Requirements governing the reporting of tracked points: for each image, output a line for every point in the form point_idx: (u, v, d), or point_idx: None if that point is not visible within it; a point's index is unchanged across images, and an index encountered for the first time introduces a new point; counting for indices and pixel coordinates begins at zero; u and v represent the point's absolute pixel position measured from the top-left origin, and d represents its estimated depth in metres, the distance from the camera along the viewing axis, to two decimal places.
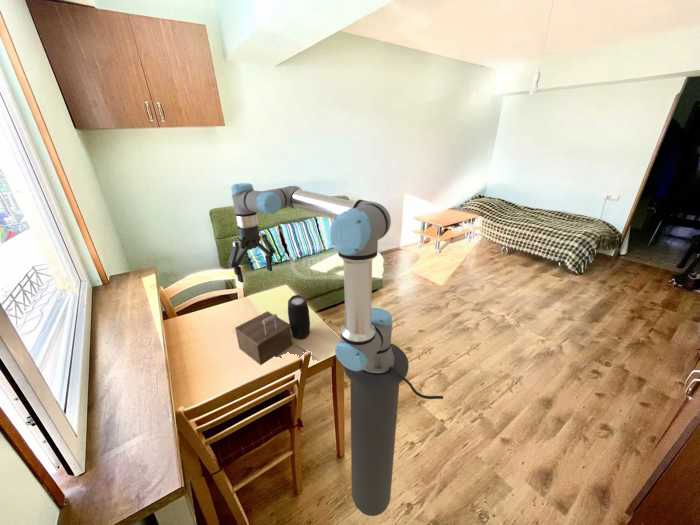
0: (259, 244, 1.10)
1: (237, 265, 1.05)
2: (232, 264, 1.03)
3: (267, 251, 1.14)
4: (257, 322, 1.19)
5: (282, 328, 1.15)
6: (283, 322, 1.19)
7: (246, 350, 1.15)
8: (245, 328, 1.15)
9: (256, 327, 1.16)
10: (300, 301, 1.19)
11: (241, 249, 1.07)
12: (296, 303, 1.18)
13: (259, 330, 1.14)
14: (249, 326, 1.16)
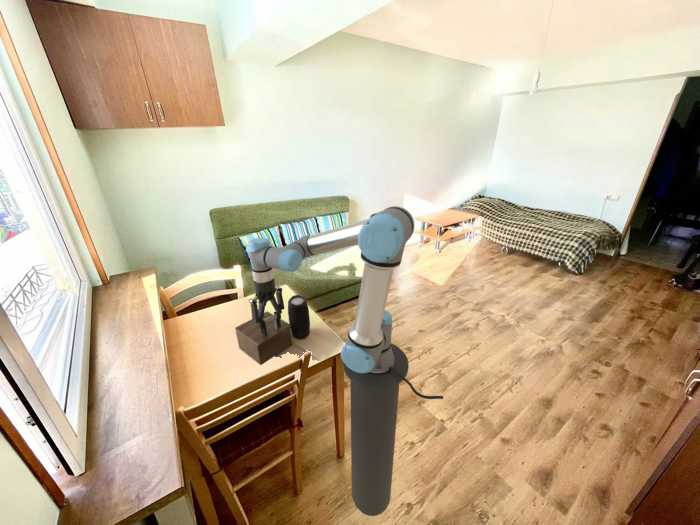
0: (273, 298, 1.07)
1: (261, 320, 1.06)
2: (256, 320, 1.04)
3: (277, 307, 1.11)
4: None
5: (282, 328, 1.15)
6: (283, 322, 1.19)
7: (246, 350, 1.15)
8: (245, 328, 1.15)
9: (256, 327, 1.16)
10: (300, 301, 1.19)
11: (260, 304, 1.06)
12: (296, 303, 1.18)
13: (259, 330, 1.14)
14: (249, 326, 1.16)
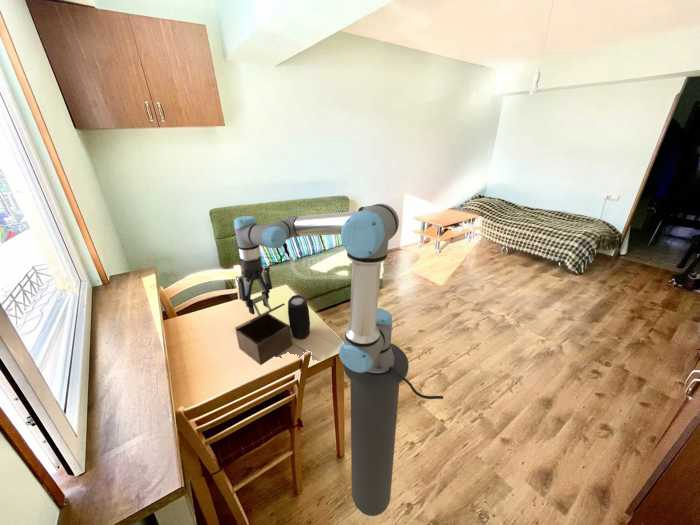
0: (260, 276, 1.09)
1: (248, 298, 1.07)
2: (243, 298, 1.06)
3: (265, 286, 1.12)
4: None
5: (275, 307, 1.13)
6: None
7: (246, 350, 1.15)
8: None
9: None
10: (300, 301, 1.19)
11: (247, 282, 1.07)
12: (296, 303, 1.18)
13: None
14: None
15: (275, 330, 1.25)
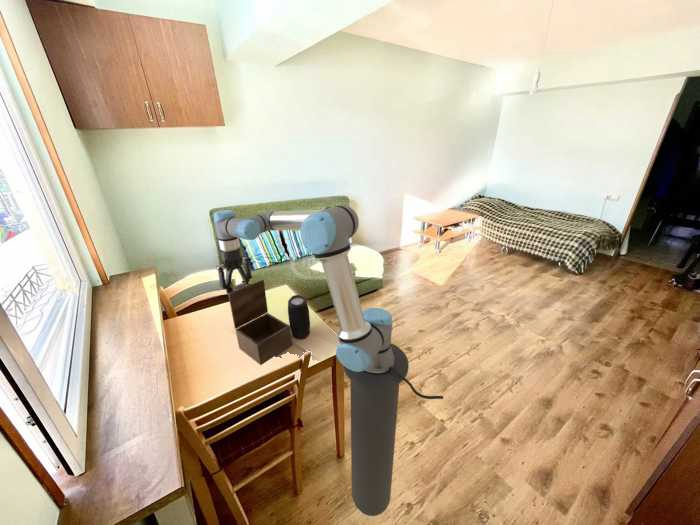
0: (240, 266, 1.17)
1: (229, 286, 1.16)
2: (224, 286, 1.14)
3: (245, 276, 1.21)
4: None
5: None
6: None
7: (246, 350, 1.15)
8: None
9: None
10: (300, 301, 1.19)
11: (227, 271, 1.16)
12: (296, 303, 1.18)
13: None
14: None
15: (275, 330, 1.25)
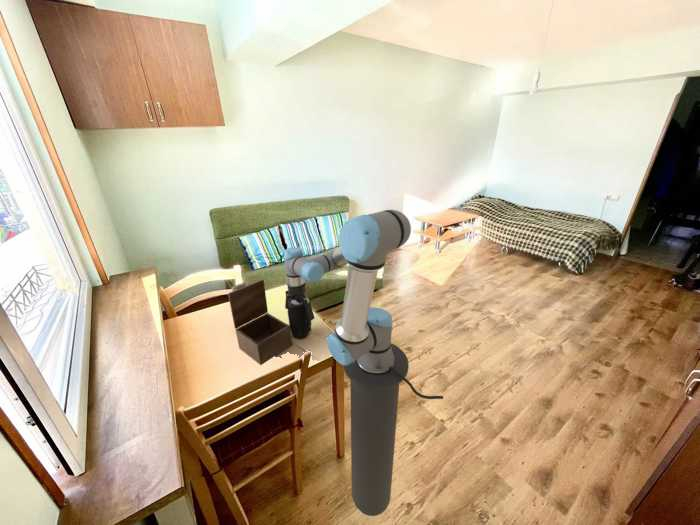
0: None
1: None
2: (285, 306, 1.27)
3: None
4: None
5: None
6: None
7: (246, 350, 1.15)
8: None
9: None
10: None
11: None
12: (296, 303, 1.18)
13: None
14: None
15: (275, 330, 1.25)
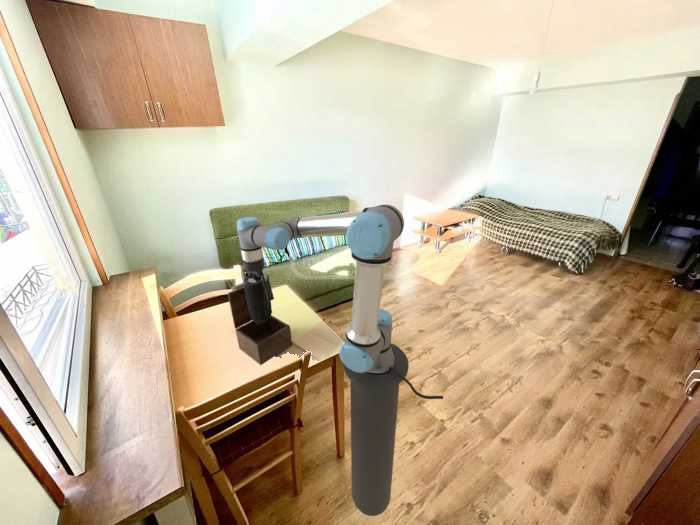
0: None
1: None
2: None
3: None
4: None
5: None
6: None
7: (246, 350, 1.15)
8: None
9: None
10: None
11: None
12: (253, 281, 1.05)
13: None
14: None
15: (275, 330, 1.25)
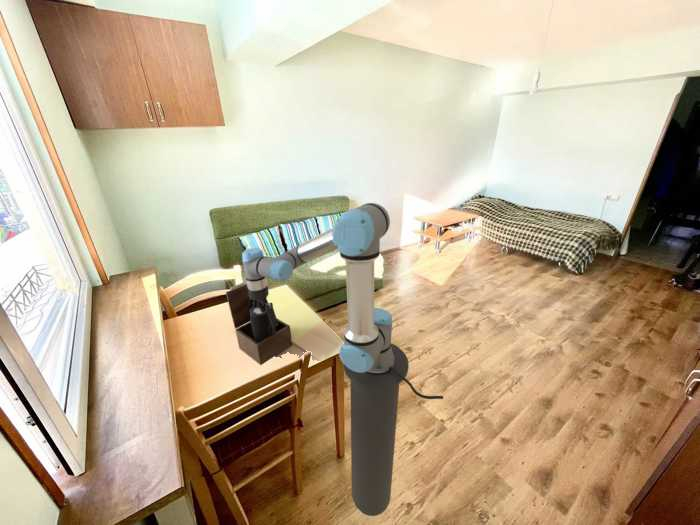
0: (260, 308, 1.09)
1: None
2: (248, 310, 1.18)
3: (267, 320, 1.10)
4: None
5: None
6: None
7: (246, 350, 1.15)
8: None
9: None
10: None
11: None
12: (258, 312, 1.10)
13: None
14: None
15: None
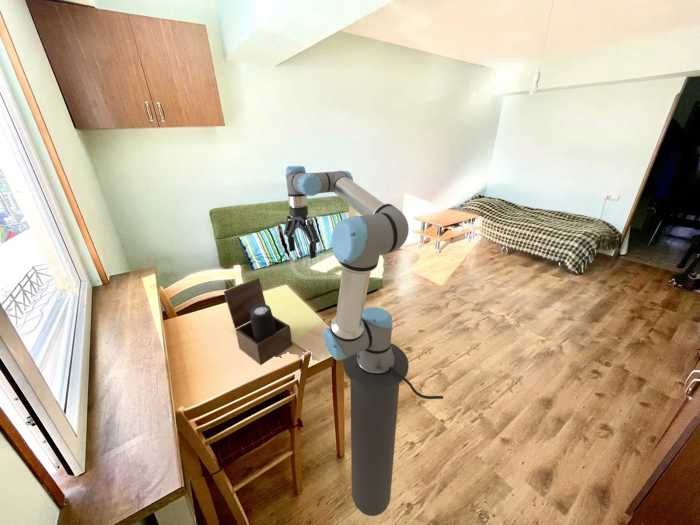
0: (301, 226, 1.14)
1: (287, 235, 1.22)
2: (284, 232, 1.23)
3: (308, 237, 1.14)
4: None
5: None
6: None
7: (246, 350, 1.15)
8: None
9: None
10: (263, 310, 1.11)
11: None
12: (259, 313, 1.09)
13: None
14: None
15: None
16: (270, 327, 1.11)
